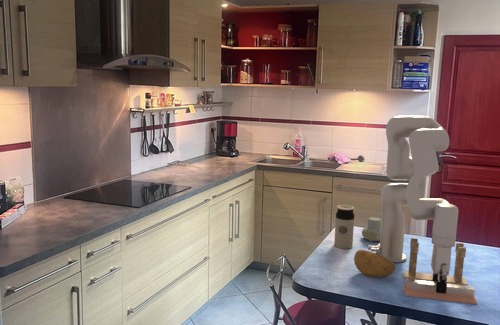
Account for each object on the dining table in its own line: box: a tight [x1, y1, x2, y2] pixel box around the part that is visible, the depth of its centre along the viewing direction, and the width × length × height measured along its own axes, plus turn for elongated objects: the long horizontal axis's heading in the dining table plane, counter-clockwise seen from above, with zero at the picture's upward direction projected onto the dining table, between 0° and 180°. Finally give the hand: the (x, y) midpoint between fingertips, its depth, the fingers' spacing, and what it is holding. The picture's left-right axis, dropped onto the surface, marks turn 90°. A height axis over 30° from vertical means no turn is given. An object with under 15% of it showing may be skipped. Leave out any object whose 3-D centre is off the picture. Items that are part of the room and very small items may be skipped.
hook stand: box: [402, 237, 469, 286], centre depth 177 cm, size 22×6×14 cm, turn 76°
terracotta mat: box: [402, 282, 478, 305], centre depth 166 cm, size 23×10×1 cm, turn 76°
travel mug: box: [333, 204, 355, 250], centre depth 212 cm, size 8×8×18 cm
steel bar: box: [405, 279, 475, 298], centre depth 166 cm, size 22×3×3 cm, turn 75°
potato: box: [353, 249, 397, 278], centre depth 180 cm, size 9×16×9 cm, turn 53°
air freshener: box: [361, 216, 381, 242], centre depth 223 cm, size 11×8×10 cm
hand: (439, 287), depth 166 cm, fingers open, 9 cm apart
